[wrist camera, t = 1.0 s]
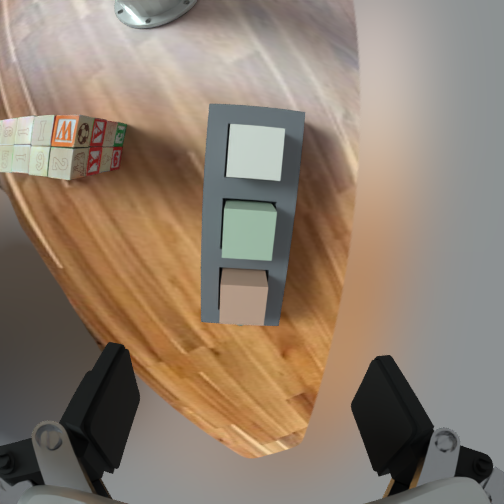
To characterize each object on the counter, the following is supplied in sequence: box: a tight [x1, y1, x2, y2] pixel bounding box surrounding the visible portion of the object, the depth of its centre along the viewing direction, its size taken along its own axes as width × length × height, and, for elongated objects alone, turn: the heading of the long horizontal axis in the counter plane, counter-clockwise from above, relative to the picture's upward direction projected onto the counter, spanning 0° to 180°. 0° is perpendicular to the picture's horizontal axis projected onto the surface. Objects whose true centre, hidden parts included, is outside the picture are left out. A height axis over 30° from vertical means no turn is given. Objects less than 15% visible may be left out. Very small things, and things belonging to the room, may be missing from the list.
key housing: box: [201, 104, 305, 326], centre depth 32 cm, size 26×10×6 cm, turn 175°
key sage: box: [222, 199, 277, 261], centre depth 29 cm, size 5×5×5 cm
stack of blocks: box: [0, 115, 127, 180], centre depth 24 cm, size 21×6×12 cm, turn 77°
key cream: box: [226, 124, 285, 181], centre depth 26 cm, size 5×5×5 cm
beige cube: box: [219, 267, 268, 326], centre depth 32 cm, size 5×5×5 cm
